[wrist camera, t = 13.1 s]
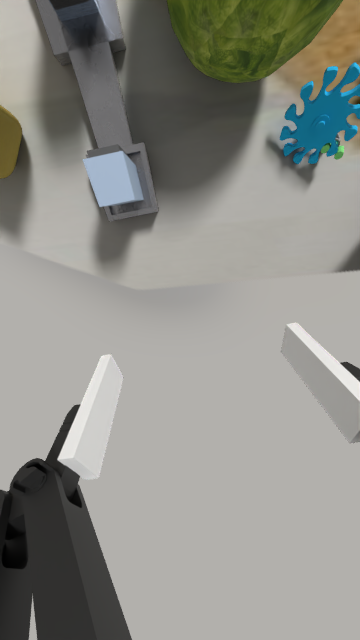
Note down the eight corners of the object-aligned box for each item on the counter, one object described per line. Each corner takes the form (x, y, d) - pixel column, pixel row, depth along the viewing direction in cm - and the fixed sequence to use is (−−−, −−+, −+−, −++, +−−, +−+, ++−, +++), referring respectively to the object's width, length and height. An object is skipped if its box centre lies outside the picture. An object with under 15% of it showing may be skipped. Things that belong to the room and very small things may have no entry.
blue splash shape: (266, 127, 27) (358, 36, 19) (273, 103, 28) (362, 9, 20) (299, 185, 32) (383, 134, 24) (304, 162, 34) (384, 107, 25)
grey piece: (98, -89, 19) (16, -427, 9) (158, 210, 33) (155, 215, 23) (18, -66, 19) (-149, -365, 9) (113, 219, 34) (90, 228, 24)
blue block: (134, 158, 28) (119, 140, 19) (143, 199, 31) (134, 199, 22) (105, 164, 28) (79, 149, 19) (117, 205, 31) (99, 207, 22)
